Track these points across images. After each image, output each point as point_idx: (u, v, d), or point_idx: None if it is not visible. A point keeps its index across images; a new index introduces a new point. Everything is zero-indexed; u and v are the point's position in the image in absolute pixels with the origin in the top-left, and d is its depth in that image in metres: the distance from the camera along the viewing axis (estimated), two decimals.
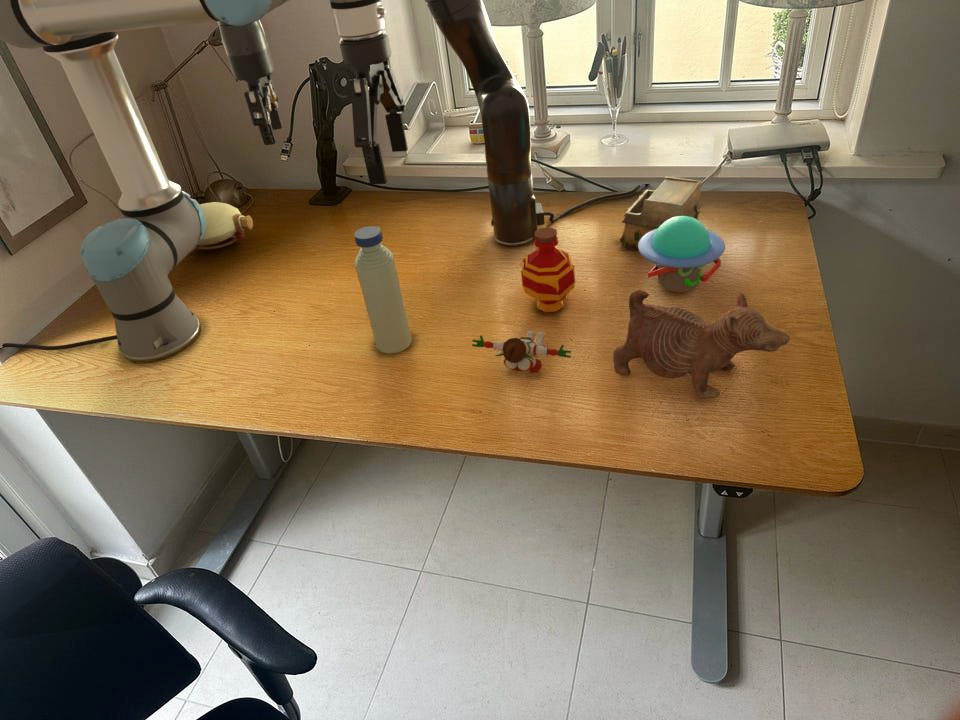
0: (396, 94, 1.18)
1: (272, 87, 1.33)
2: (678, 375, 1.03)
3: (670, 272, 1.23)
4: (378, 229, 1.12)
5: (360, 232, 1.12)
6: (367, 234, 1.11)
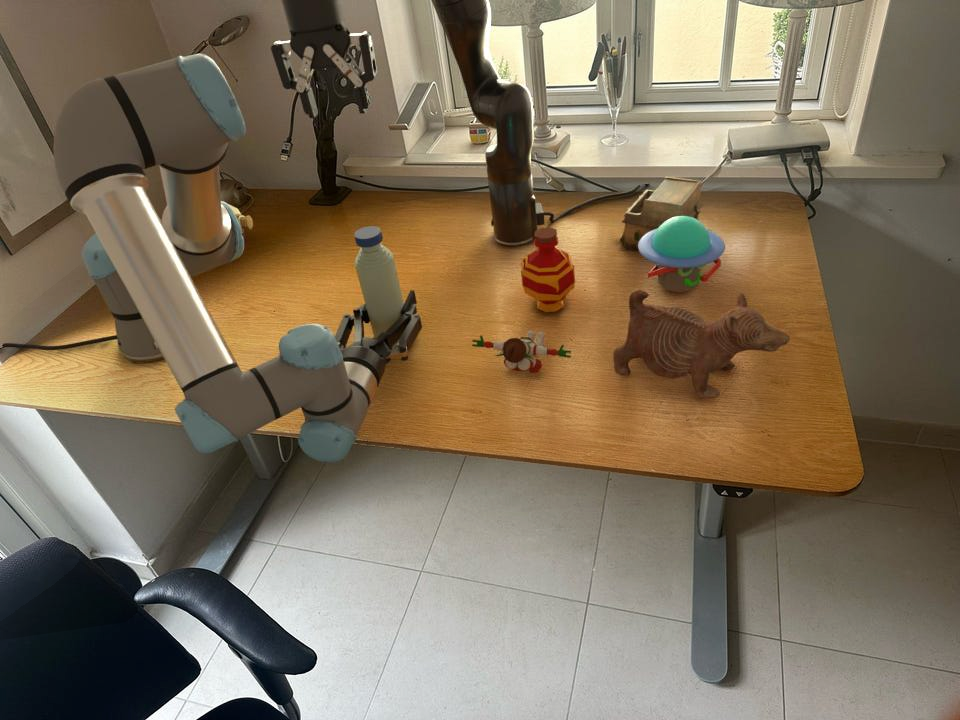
0: None
1: (289, 61, 0.97)
2: (678, 375, 1.03)
3: (670, 272, 1.23)
4: (378, 229, 1.12)
5: (360, 232, 1.12)
6: (367, 234, 1.11)
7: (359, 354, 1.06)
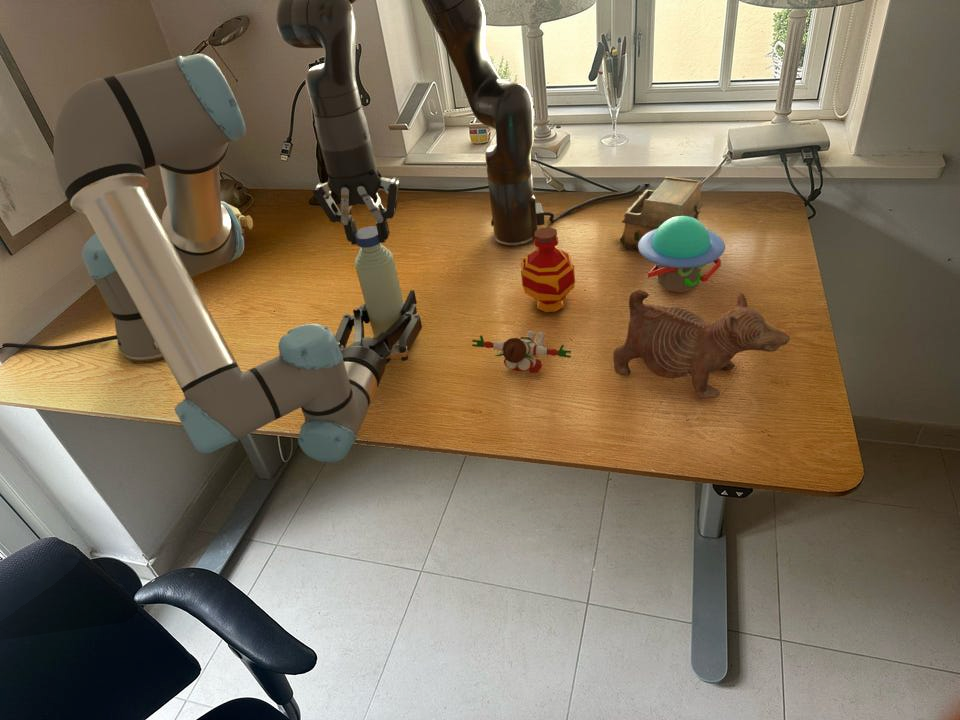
0: None
1: (331, 198, 1.09)
2: (678, 375, 1.03)
3: (670, 272, 1.23)
4: None
5: (360, 232, 1.12)
6: (367, 234, 1.11)
7: (359, 354, 1.06)
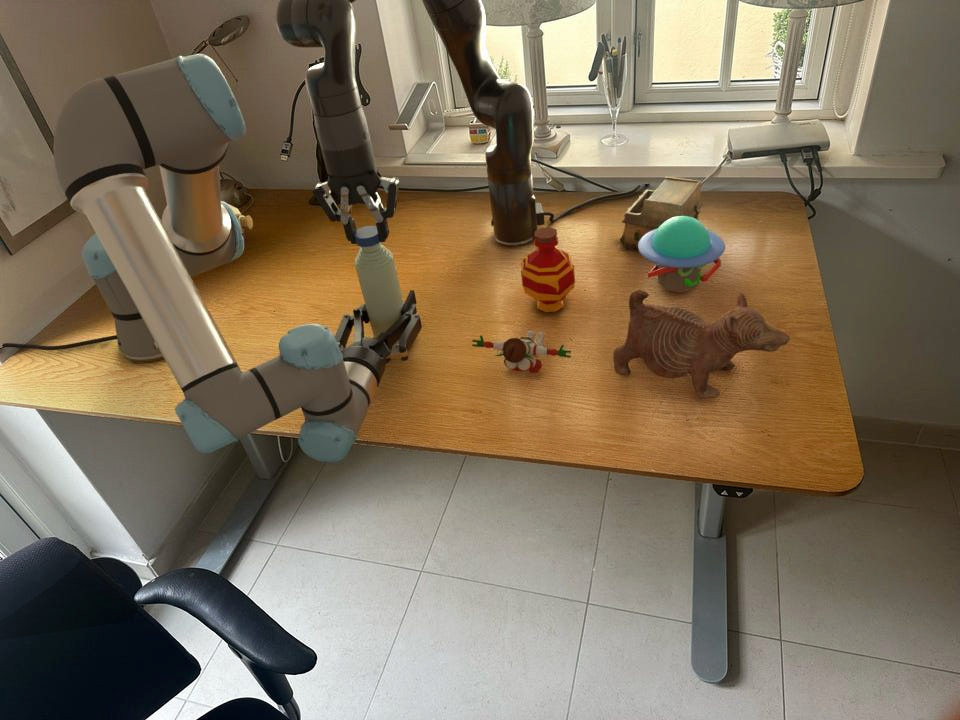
0: None
1: (331, 197, 1.09)
2: (678, 375, 1.03)
3: (670, 272, 1.23)
4: (362, 228, 1.13)
5: (366, 235, 1.10)
6: (371, 230, 1.11)
7: (358, 354, 1.06)
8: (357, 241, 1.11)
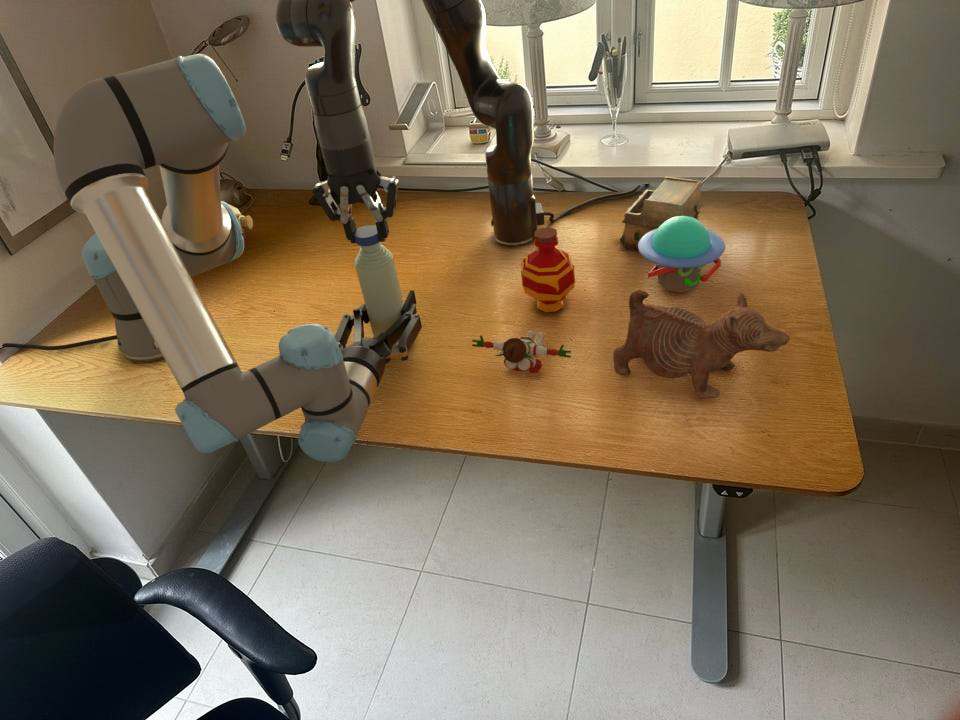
0: None
1: (331, 196, 1.09)
2: (678, 375, 1.03)
3: (670, 272, 1.23)
4: (358, 236, 1.10)
5: (374, 229, 1.11)
6: (364, 229, 1.12)
7: (358, 354, 1.06)
8: (378, 237, 1.11)
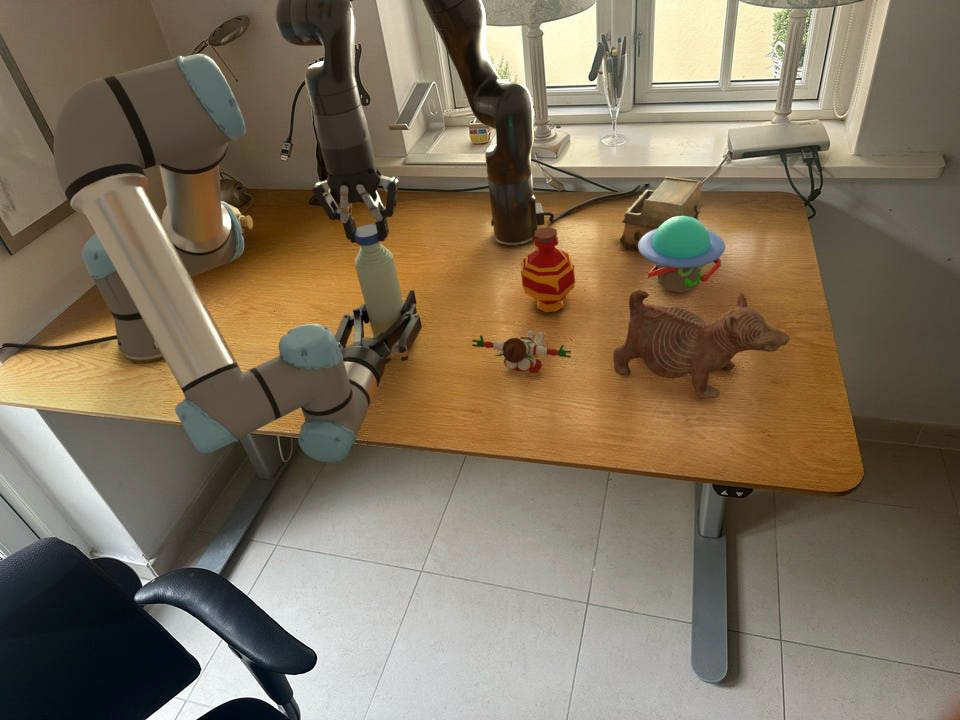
0: None
1: (331, 196, 1.09)
2: (678, 375, 1.03)
3: (670, 272, 1.23)
4: (376, 231, 1.10)
5: (363, 228, 1.12)
6: (363, 232, 1.11)
7: (358, 354, 1.06)
8: None
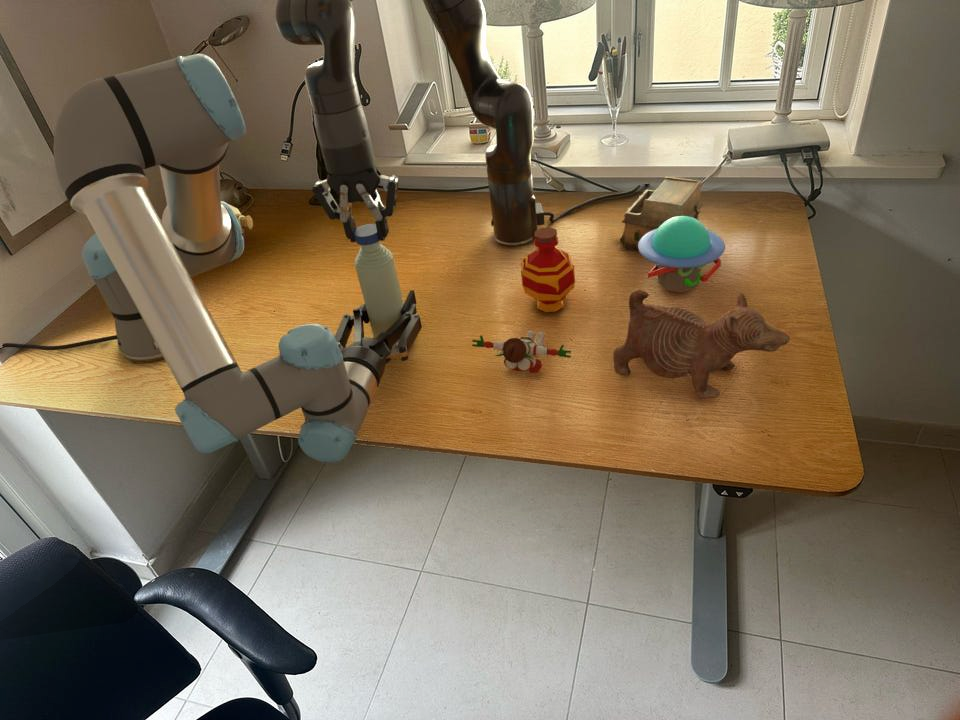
0: None
1: (331, 195, 1.09)
2: (678, 375, 1.03)
3: (670, 272, 1.23)
4: (370, 224, 1.13)
5: (361, 233, 1.10)
6: (370, 230, 1.11)
7: (358, 354, 1.06)
8: None
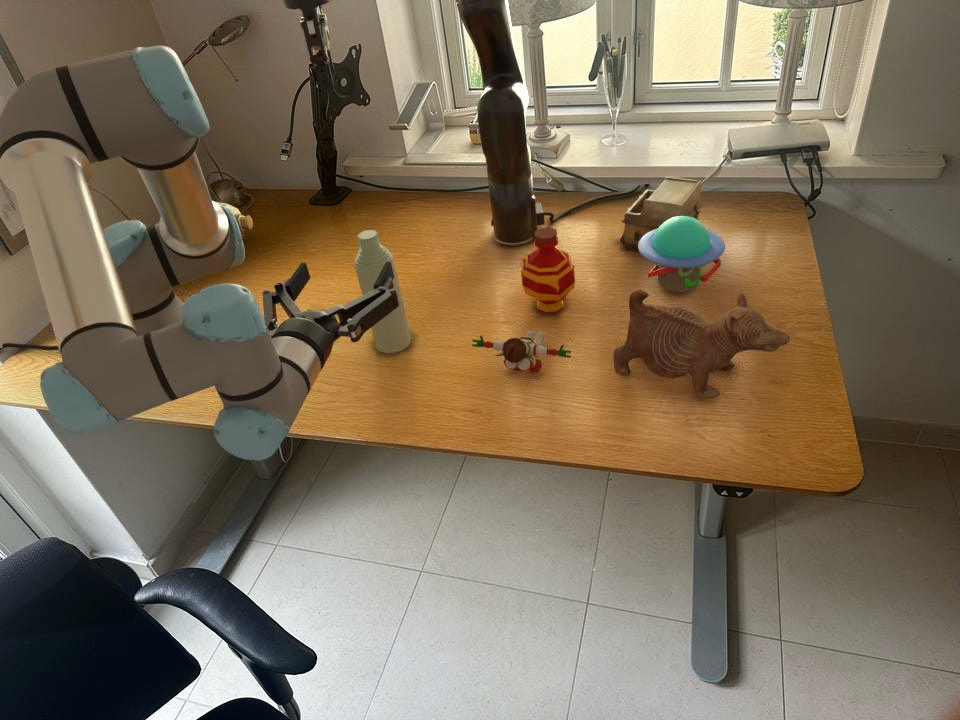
0: None
1: None
2: (678, 375, 1.03)
3: (670, 272, 1.23)
4: None
5: None
6: None
7: (298, 327, 0.86)
8: None
